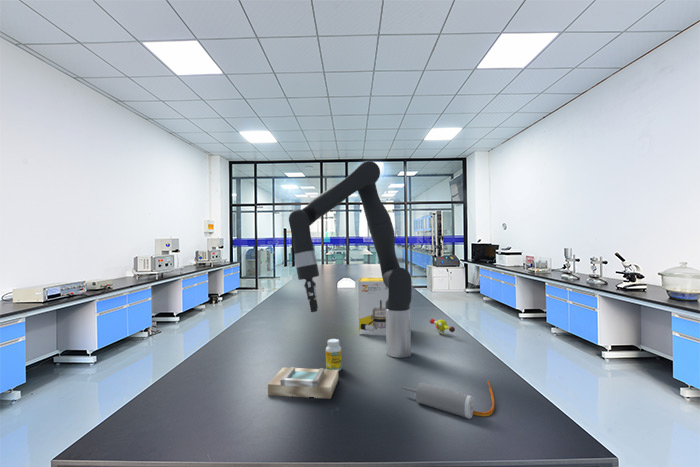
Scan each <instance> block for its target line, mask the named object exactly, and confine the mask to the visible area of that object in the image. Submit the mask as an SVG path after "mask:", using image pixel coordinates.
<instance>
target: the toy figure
mask: <svg viewBox="0 0 700 467" xmlns="http://www.w3.org/2000/svg"><path fill="white" fill-rule="evenodd" d="M429 323H430V324H432V325H433V324H435V329H437V330H438V331H439V333H438V334H439V335H442V336H443V335H445V331H446V330H448V331H449V332H451V333H454V332H455V331H456V328H455V327H454V326H448V323H447V321H446V320H444V319H438V320H435V319H434V318H430V320H429ZM440 333H442V334H440Z"/></svg>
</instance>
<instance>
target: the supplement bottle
mask: <svg viewBox="0 0 700 467" xmlns="http://www.w3.org/2000/svg"><path fill="white" fill-rule="evenodd" d="M342 362H343V360H342V346H340V340H339V339H338V338H337V339H336V338H330V339H328V340H327V346H326V348H325V369H329V370H338V372H339V371H341V370H342V369H343V368H342V365H343V364H342Z"/></svg>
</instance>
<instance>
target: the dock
mask: <svg viewBox="0 0 700 467" xmlns="http://www.w3.org/2000/svg"><path fill="white" fill-rule="evenodd" d="M338 382H339V371H338V370H329V369H326V368H323V367H320V368H306V367H305V368H303V367H302V368H301V367H295V366H291V367H282V368H281V369H280V370H279V371H278V372H277V373H276V374H275V376H274V377H273V378H272V379H271V380H270V381H269V382H268V383H267V395H268V396H278V397H292V396H293V397H296V398H309V397H314V398H313V399H329V400H330V399H331V398H332V396H333V394H334V393H335V392H334V391H335V390H336V386H337V384H338Z"/></svg>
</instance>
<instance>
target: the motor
mask: <svg viewBox="0 0 700 467" xmlns="http://www.w3.org/2000/svg"><path fill="white" fill-rule="evenodd" d="M486 381H487V385H488V391H489V394H490V397H491V403H492V406H491V408H490V409H489V410H487V411H484V412H483V411H482V412H481V411H476V410H475V398H474V397H473V396H472V395H468V394H464V393H461V392H459V391H455V390H450V389H446V388H443V387H439V386H435V385H432V384H428V383H425V382H420V383H418V385H417V387H416V389H413V388H410V387H406V386H402V387H401V388H402V389H403V390H405V391H409V392H411V393H414V394H415V400H416V402H417V403H419V404H421V405H424V406H428V407H430V408H433V409H437V410H440V411H444V412H447V413H449V414H453V415H456V416H458V417H463V418H466V419H469V420H470V419H472V418H473V416H477V417H488V416H491V415H492V414H493V413H494V412H495V397H494V392H493V389H492V386H491V384H490V380H489V379H487V380H486Z"/></svg>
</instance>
